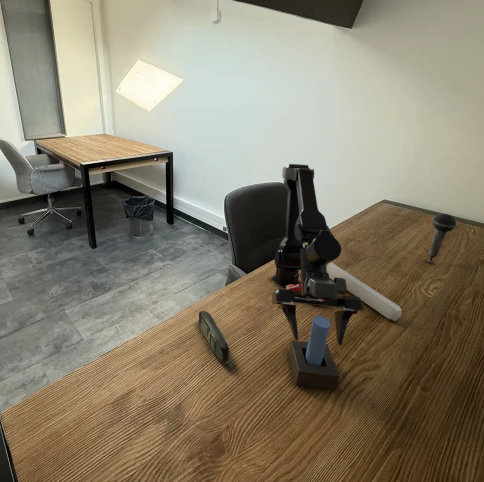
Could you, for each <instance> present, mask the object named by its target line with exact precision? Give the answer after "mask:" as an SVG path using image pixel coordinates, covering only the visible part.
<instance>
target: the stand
mask: <svg viewBox="0 0 484 482" xmlns="http://www.w3.org/2000/svg"><path fill="white" fill-rule="evenodd" d="M308 342H309V341H303V340H295V339H294V340H290V343H289V344H290V345H289V349H288V355H289V356H288V357H289V360H290V364H291V368H292V373H293V378H294V383H295V385H296V386H303V387H311V388H312V387H313V388H318V389H319V388H320V389H329V390H337V387H338V383H339V379H340V374H339V370H338V369H337V365H336V362H335V360H334V358H333V355H332V353H331V350H330V347H329V345H328V343H326V346H325V350H324V354H323V358H322V362H321V366H315V365H307V364H306V362H305V356H306V351H307V347H308Z"/></svg>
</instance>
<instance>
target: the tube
mask: <svg viewBox="0 0 484 482" xmlns="http://www.w3.org/2000/svg"><path fill="white" fill-rule="evenodd" d="M326 269H327V273H329V279H330V280H331V281H334V278H335V277H336V278H344V279H345V280H346V286H347V291H348V292H349V293H350V294H352V295H353V296H355V297H359V298H360V299H361V300H362V302H363V303H365V304H367V305H368V306H369V307H371V308H372V309H373V310H375V311H377V312H378V313H379V314H380V315H382V316H383V317H385V318H386V319H387V320H389V321H393V322H396V321H397V320H399V318H401V317H402V315H403V310H402V308H401V306H400V305H398V304H397V303H395V302H394V301H392V300H390V299H389V298H388V297H386V296H384V295H383V294H381V293H379V292H378V291H377V290H375V289H374V288H372V287H371V286H369V285H367V284H366V283H364V282H363V281H361V280H359V279H358V278H356V277H355V276H353V275H352V274H350V273H349V272H347V271H346V270H344V269H343V268H341V267H340V266H338V265H337V264H335V263H334V262H333V261H332V262H330V263H328V264H327V265H326Z"/></svg>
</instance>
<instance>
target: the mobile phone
mask: <svg viewBox="0 0 484 482" xmlns="http://www.w3.org/2000/svg"><path fill="white" fill-rule="evenodd" d="M198 327H199V328H200V330H201V332H202V334H203V336H204V337H205V339H206V340H207V342H208V345H209V347H210V350H211V352H212V353H213V355H214V356H215V357H216V358H217V359H218V360H219V362H225V363H226V364H227V365H228V367H229V368H230V369H231V368H233V365H232V363H231V362H230V361H229V356H230V347H229V344H228V342H227V341H226V337H225V335H224V333H223V332H222V330H221V328H220V327H219V325H218V324H217V323H216V321H215V319H214V318H213V317H212V315H211V313H210V312H208V311H206V310H201V311H200V310H199V312H198Z"/></svg>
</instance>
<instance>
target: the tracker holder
mask: <svg viewBox="0 0 484 482" xmlns="http://www.w3.org/2000/svg"><path fill="white" fill-rule="evenodd" d="M286 287H287V288H286V289H285V290H293V291H294V294H296V293H295V291H297V292H300V293H302V283H299V284H297V285H294V284H291V285H288V286H286ZM296 295H298V294H296ZM308 301H309V300H308ZM322 301H324V300H322Z"/></svg>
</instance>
